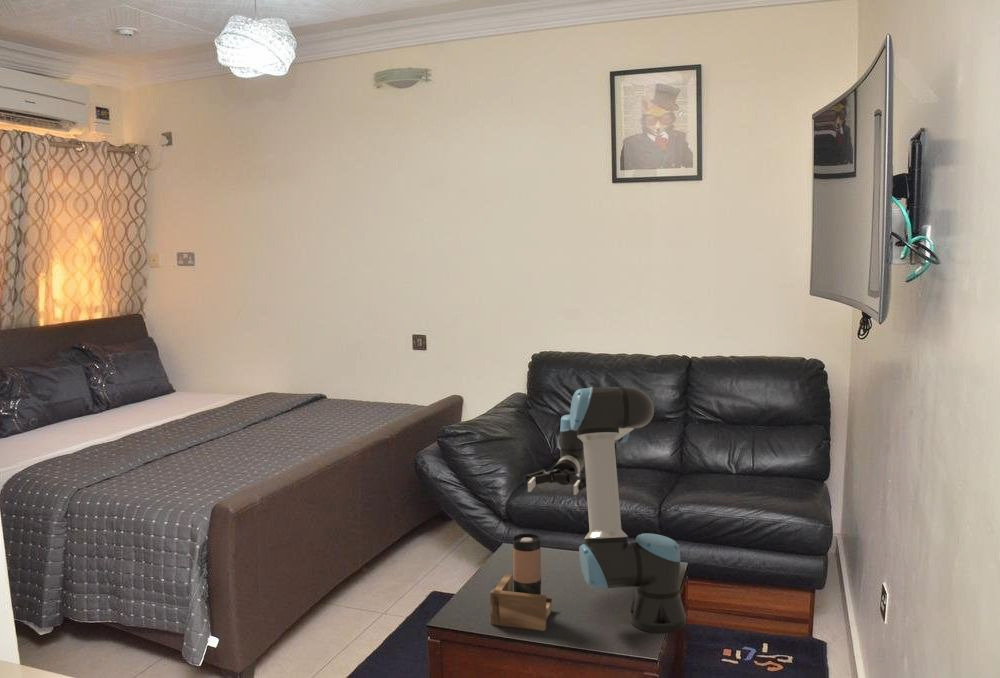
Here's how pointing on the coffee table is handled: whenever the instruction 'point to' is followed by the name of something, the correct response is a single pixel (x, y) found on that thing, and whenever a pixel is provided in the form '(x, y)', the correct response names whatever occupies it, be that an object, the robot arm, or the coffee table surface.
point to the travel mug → (527, 564)
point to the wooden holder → (518, 607)
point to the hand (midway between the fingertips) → (551, 489)
